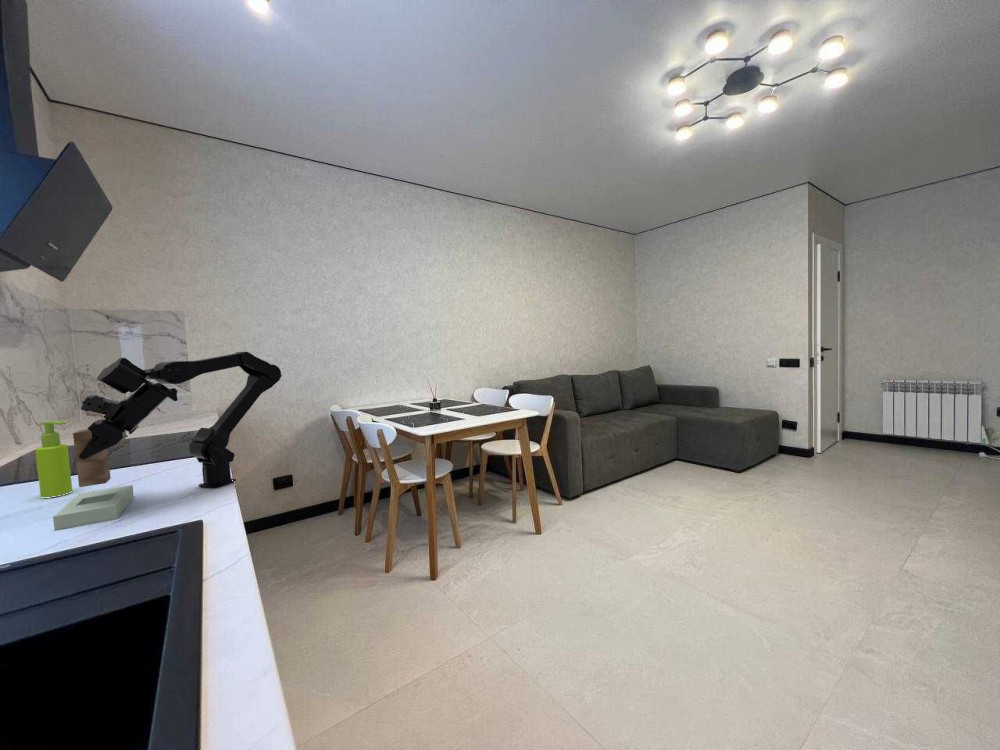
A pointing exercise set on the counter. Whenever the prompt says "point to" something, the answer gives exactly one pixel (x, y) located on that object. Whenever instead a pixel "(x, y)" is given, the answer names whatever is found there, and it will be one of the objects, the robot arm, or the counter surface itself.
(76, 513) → the sage rectangular frame
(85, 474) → the walnut post
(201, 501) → the counter surface
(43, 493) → the soap dispenser
